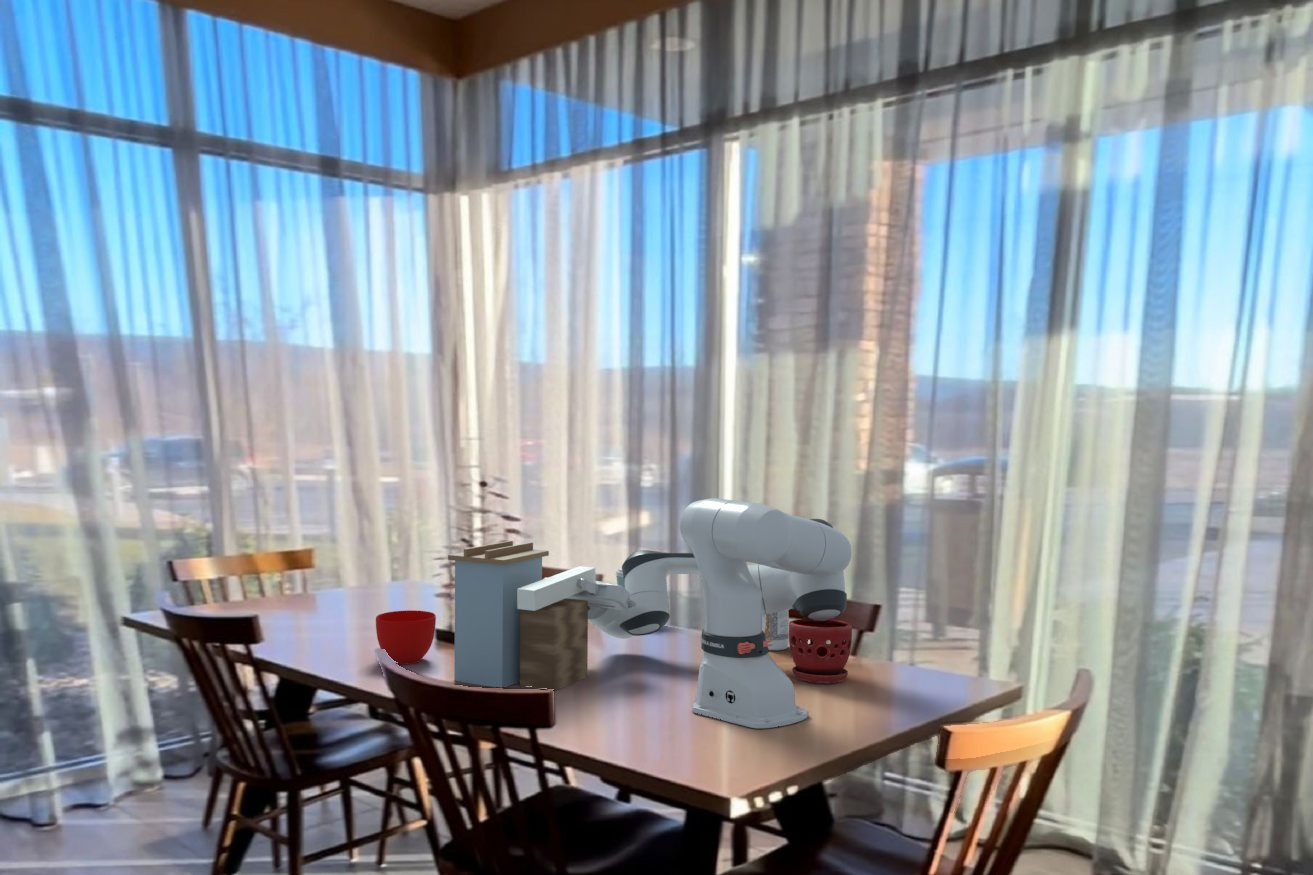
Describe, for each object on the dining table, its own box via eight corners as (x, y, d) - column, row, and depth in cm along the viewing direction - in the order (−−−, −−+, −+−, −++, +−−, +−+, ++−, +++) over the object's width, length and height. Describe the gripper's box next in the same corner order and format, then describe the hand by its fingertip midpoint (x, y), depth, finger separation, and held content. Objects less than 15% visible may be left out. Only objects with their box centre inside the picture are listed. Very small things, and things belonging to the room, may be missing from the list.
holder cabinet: (494, 664, 223) (495, 539, 222) (547, 672, 216) (548, 543, 216) (447, 681, 209) (448, 547, 208) (503, 690, 202) (504, 552, 202)
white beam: (579, 584, 222) (579, 566, 221) (595, 585, 220) (595, 567, 220) (517, 608, 200) (517, 588, 200) (534, 610, 199) (534, 590, 198)
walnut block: (555, 671, 217) (555, 597, 217) (587, 676, 213) (587, 600, 213) (520, 685, 206) (520, 607, 205) (553, 691, 202) (553, 611, 201)
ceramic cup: (414, 647, 238) (414, 605, 237) (445, 662, 224) (445, 617, 224) (360, 655, 230) (360, 611, 230) (388, 671, 216) (389, 624, 216)
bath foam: (754, 645, 244) (755, 562, 244) (780, 643, 246) (781, 561, 246) (765, 651, 237) (766, 566, 237) (792, 649, 239) (794, 565, 239)
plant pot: (863, 680, 213) (864, 623, 213) (824, 689, 205) (826, 630, 204) (813, 668, 223) (815, 614, 223) (774, 677, 214) (776, 620, 214)
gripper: (635, 620, 219) (608, 599, 208) (554, 611, 228) (524, 590, 217) (642, 593, 222) (615, 570, 210) (561, 584, 231) (532, 562, 219)
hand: (568, 580), depth 214 cm, fingers closed on white beam, 4 cm apart
